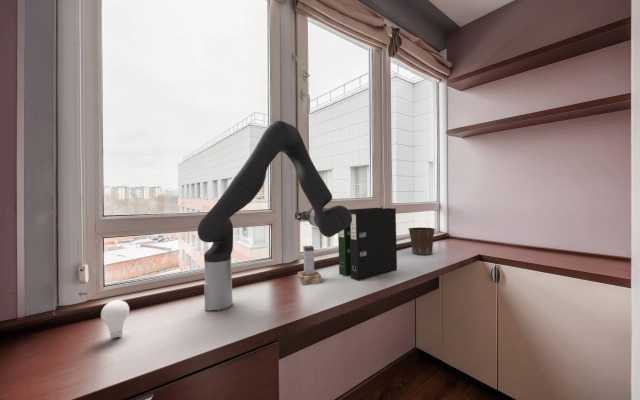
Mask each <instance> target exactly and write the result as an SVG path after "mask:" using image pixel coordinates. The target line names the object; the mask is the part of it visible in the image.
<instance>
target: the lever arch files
mask: <svg viewBox="0 0 640 400" xmlns="http://www.w3.org/2000/svg"><path fill="white" fill-rule="evenodd" d="M348 210H349V211H350V213H351V215H352V223H351V224H350V226H349V227H347V228H346V229H344V230H342V231H340V232H339V233H337V235H338V236H337V240H338V272H339V275H341V276H344V277H348V276H350V279H352V280H355V281H357V282H360V281H363V280H367V279H371V278H374V277H378V276H381V275H385V274H389V273H392V272H395V271H397V270H398V258H397V254H398V253H397V212H396V211H397V208H396V207H394V208H392V207H388V208H387V207H386V208H385V207H384V208H383V207H368V208H367V207H366V208H365V207H364V208H355V209H354V208H353V209H348Z"/></svg>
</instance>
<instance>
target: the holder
mask: <svg viewBox="0 0 640 400" xmlns="http://www.w3.org/2000/svg"><path fill="white" fill-rule="evenodd" d="M297 280H298V281H299V283H300V285H301V286H306V285H314V284H321V283H322V274H320V273H319V271H317V270H316V269H314V275H312V276H304V270H303V271H297Z"/></svg>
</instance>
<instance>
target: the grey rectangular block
mask: <svg viewBox="0 0 640 400" xmlns="http://www.w3.org/2000/svg"><path fill="white" fill-rule="evenodd" d="M302 248H303V250H302V251H303V271H304V276H312V275H314V270H315V253H314V251H315V250H314V249H315V248H314V246H313V245H305V246H303V247H302Z"/></svg>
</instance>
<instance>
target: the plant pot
mask: <svg viewBox="0 0 640 400" xmlns="http://www.w3.org/2000/svg"><path fill="white" fill-rule="evenodd" d="M435 230H436V229H435V227H420V226H419V227H409V228H408V232H409V237H410V243H411V252H412V254H414V255H417V256H419V255H421V256H430V255H432V254H433V249H434V248H433V247H434V245H433V244H434V235H435Z"/></svg>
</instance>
